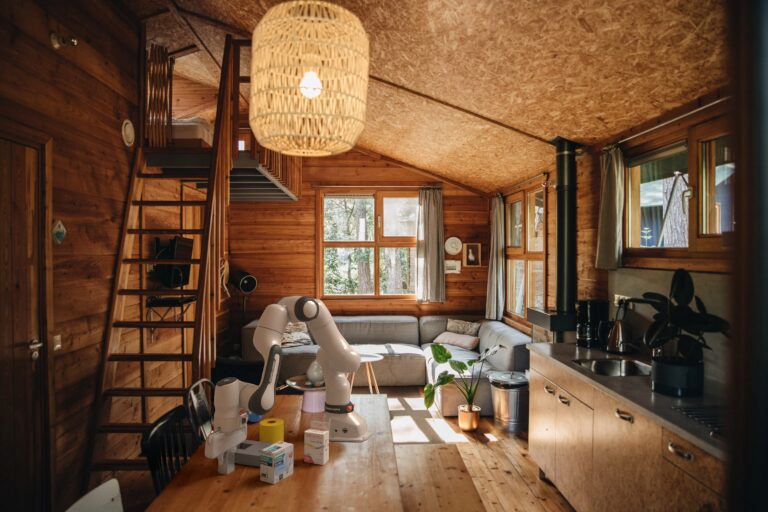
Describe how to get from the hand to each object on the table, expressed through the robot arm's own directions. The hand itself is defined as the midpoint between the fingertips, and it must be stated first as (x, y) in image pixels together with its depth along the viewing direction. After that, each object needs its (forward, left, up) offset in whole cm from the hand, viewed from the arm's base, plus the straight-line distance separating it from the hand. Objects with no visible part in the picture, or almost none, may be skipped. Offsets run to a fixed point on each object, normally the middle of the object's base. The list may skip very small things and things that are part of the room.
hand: (226, 461), depth 177 cm
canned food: (+16, -18, -4) cm, 24 cm away
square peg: (0, 0, -4) cm, 4 cm away
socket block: (-2, -14, -4) cm, 15 cm away
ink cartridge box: (-27, -19, -4) cm, 33 cm away
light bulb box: (-20, -2, -4) cm, 20 cm away
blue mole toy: (+24, -51, -4) cm, 56 cm away
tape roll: (-1, -29, -4) cm, 29 cm away
